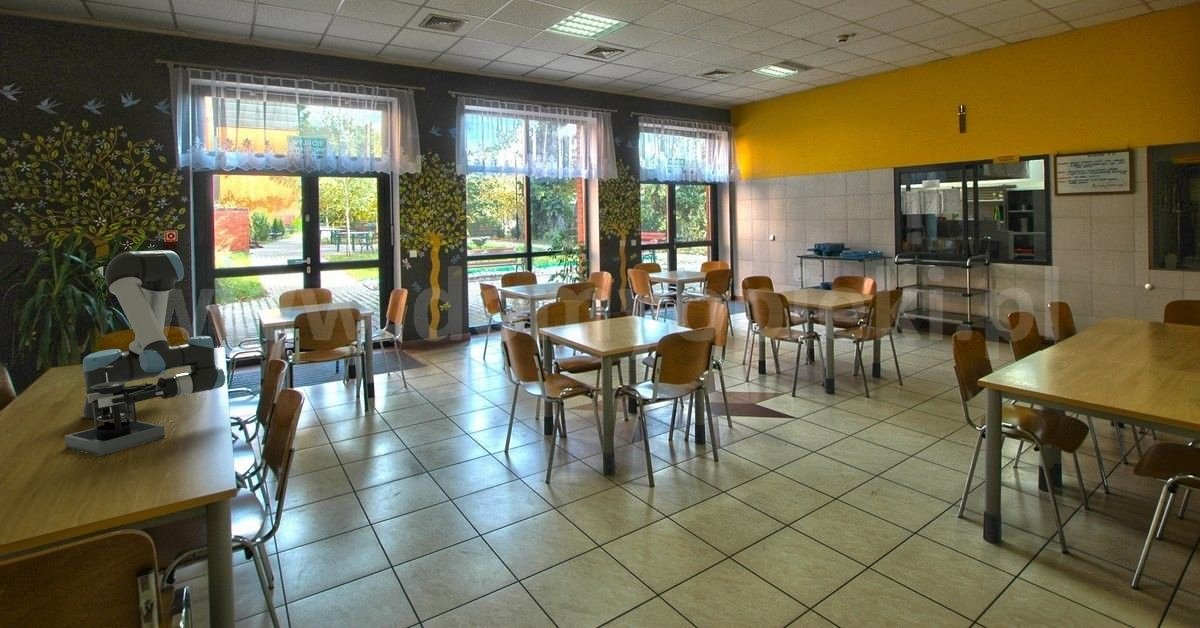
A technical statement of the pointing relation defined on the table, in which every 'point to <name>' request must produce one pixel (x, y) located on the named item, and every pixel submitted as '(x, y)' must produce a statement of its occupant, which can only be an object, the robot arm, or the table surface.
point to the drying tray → (89, 444)
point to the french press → (117, 427)
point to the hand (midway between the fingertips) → (93, 401)
